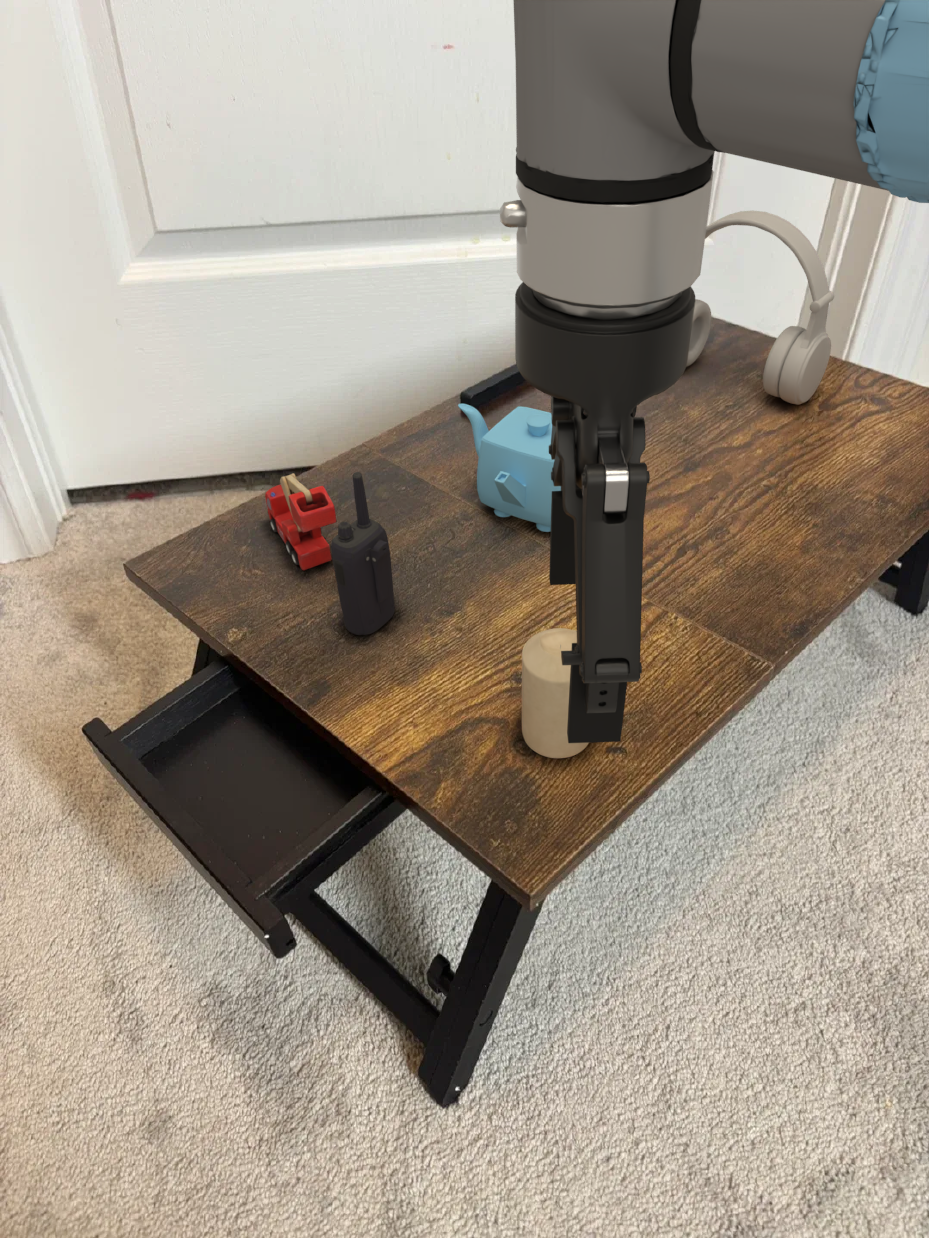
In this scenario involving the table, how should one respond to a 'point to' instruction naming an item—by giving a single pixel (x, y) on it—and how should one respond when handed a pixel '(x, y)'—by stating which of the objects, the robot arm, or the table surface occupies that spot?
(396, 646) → the table surface
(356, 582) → the two-way radio
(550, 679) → the candle
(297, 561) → the toy fire truck
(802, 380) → the headphones
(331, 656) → the table surface
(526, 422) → the teapot
